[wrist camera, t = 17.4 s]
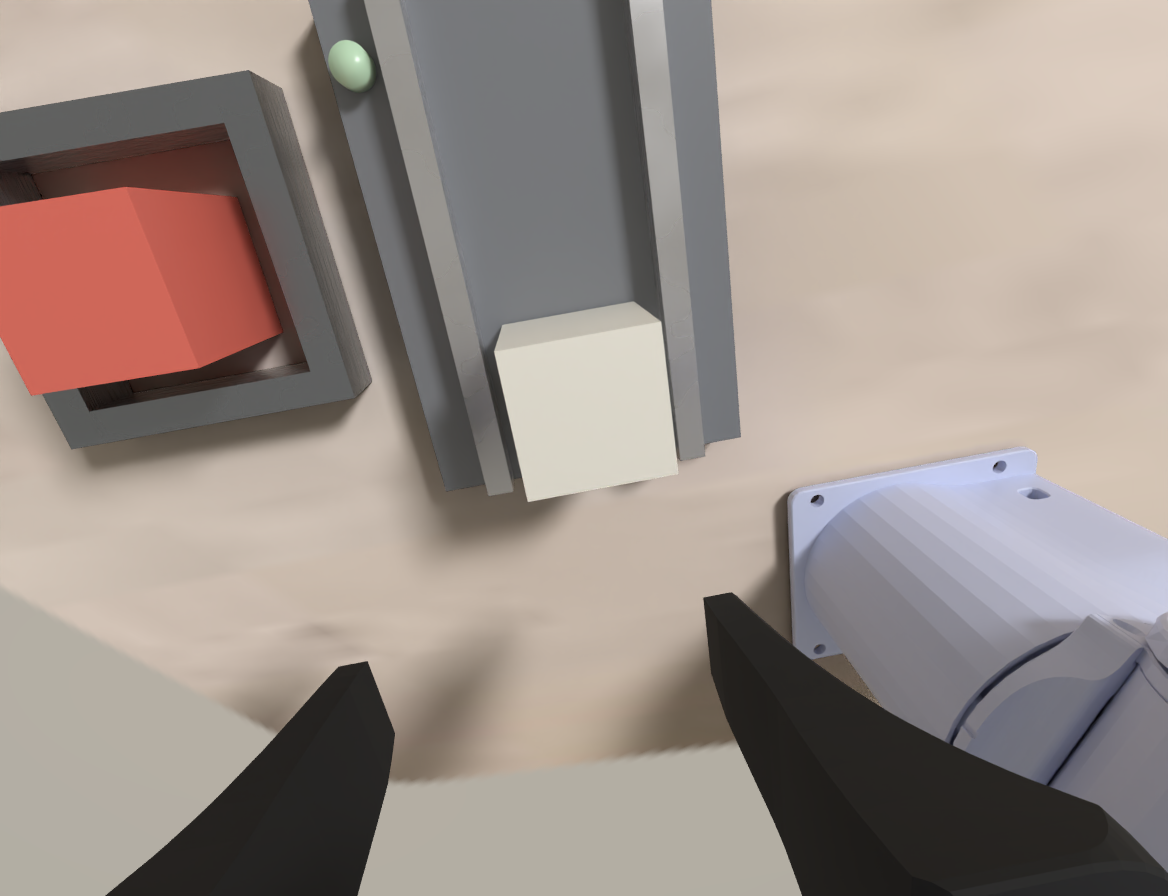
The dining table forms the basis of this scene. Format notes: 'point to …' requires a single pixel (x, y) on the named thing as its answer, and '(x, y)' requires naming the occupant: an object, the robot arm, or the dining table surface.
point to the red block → (127, 286)
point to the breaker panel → (538, 193)
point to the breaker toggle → (587, 399)
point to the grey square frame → (285, 214)
